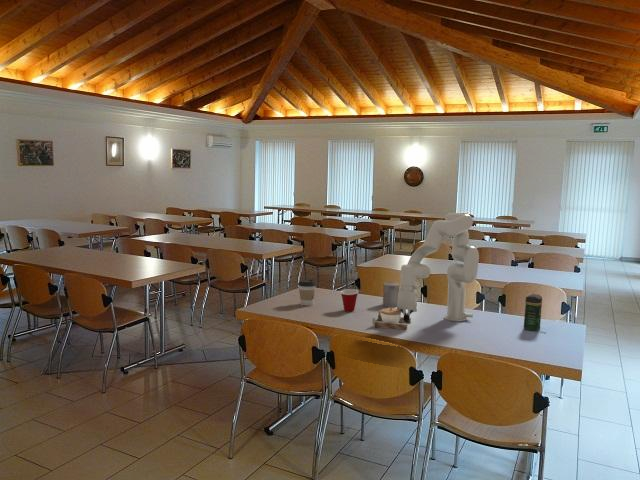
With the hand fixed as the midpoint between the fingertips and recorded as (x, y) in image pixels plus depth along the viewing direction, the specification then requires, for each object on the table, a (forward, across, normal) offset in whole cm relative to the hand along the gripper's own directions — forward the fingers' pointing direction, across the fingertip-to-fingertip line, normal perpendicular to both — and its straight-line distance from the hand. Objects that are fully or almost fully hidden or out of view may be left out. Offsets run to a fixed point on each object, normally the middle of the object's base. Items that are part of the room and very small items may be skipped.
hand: (406, 321), depth 297 cm
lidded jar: (+3, +8, 0) cm, 9 cm away
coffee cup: (+3, +64, -28) cm, 70 cm away
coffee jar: (+3, -64, -16) cm, 67 cm away
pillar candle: (+3, +15, -43) cm, 46 cm away
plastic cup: (+3, +36, -21) cm, 42 cm away
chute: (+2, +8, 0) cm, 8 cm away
